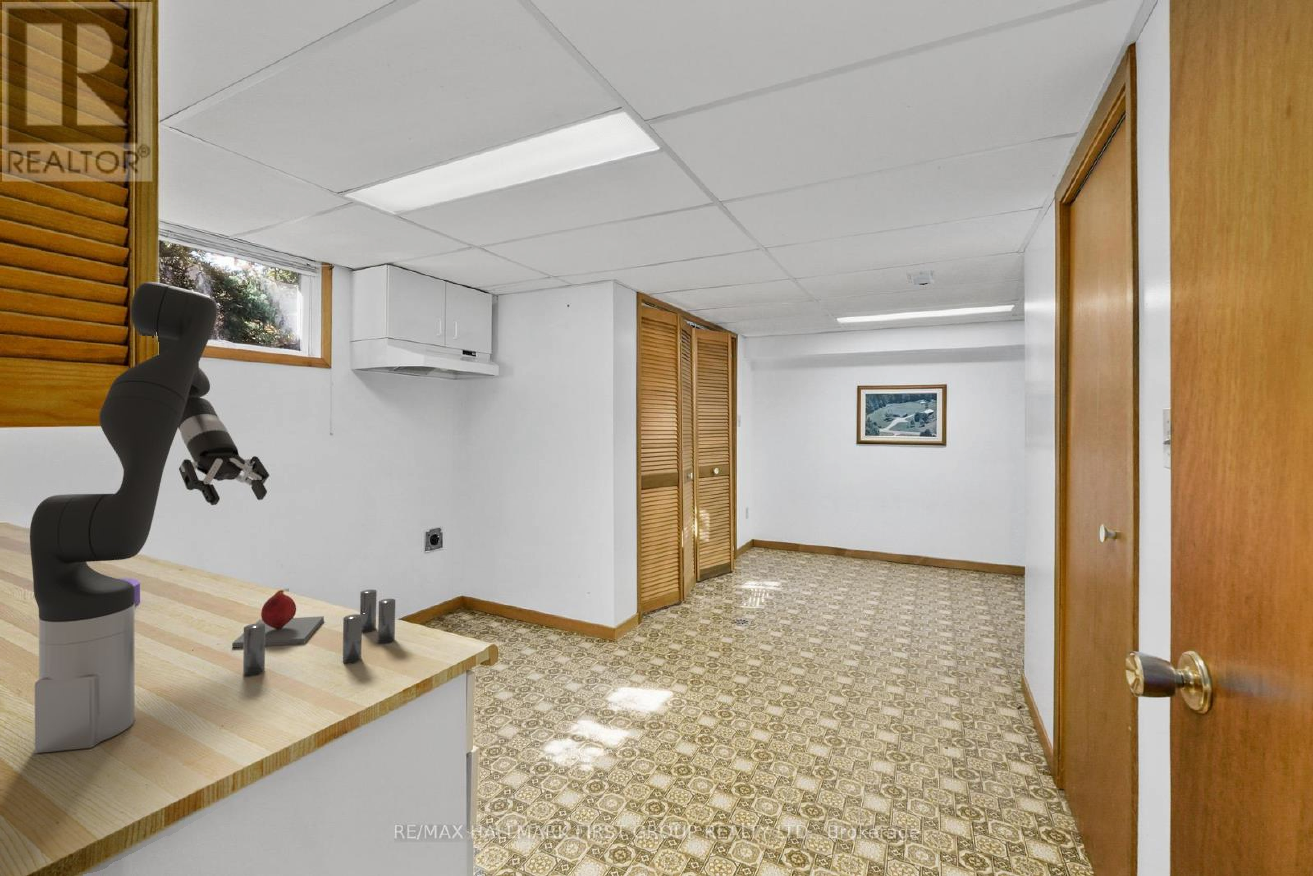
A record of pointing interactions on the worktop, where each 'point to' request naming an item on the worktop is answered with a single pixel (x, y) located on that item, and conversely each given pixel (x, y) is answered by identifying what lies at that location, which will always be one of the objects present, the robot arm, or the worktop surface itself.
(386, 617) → the spacer field
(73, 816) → the worktop surface
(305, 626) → the mat
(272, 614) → the onion
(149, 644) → the worktop surface
